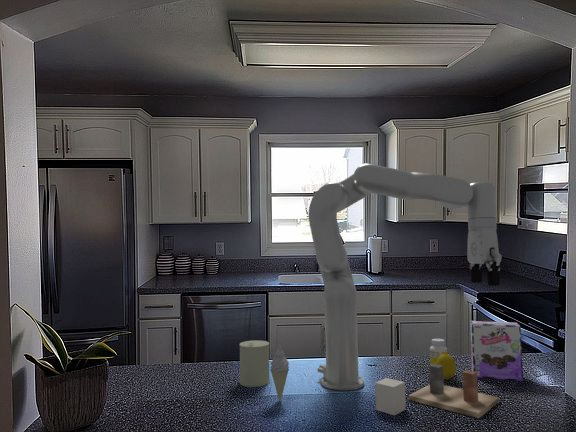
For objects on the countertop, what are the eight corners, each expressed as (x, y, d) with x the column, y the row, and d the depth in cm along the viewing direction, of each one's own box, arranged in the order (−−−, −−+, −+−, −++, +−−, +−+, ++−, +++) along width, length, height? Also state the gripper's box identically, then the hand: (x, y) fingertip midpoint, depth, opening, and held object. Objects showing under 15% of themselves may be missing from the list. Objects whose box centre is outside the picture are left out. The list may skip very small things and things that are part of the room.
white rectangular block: (376, 409, 107) (375, 382, 107) (387, 404, 110) (386, 377, 111) (394, 415, 103) (393, 387, 103) (405, 409, 107) (404, 382, 107)
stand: (408, 400, 113) (407, 368, 114) (433, 387, 123) (432, 357, 124) (478, 418, 100) (477, 382, 101) (499, 402, 110) (497, 369, 111)
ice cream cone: (273, 405, 111) (272, 345, 112) (268, 398, 116) (267, 341, 117) (291, 402, 112) (290, 344, 113) (286, 396, 117) (285, 340, 118)
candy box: (473, 377, 131) (470, 323, 132) (471, 372, 137) (469, 320, 138) (524, 381, 127) (520, 325, 128) (520, 376, 132) (517, 321, 133)
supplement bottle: (446, 368, 142) (445, 338, 142) (450, 373, 136) (448, 341, 137) (429, 368, 142) (428, 337, 143) (432, 372, 137) (431, 341, 138)
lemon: (458, 383, 126) (457, 355, 127) (438, 382, 127) (437, 354, 128) (454, 377, 132) (453, 351, 132) (435, 376, 133) (434, 350, 133)
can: (234, 385, 127) (234, 344, 128) (246, 376, 136) (246, 338, 137) (263, 388, 124) (263, 346, 125) (274, 378, 133) (273, 339, 134)
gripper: (456, 226, 134) (458, 281, 132) (484, 223, 116) (487, 286, 115) (480, 226, 134) (482, 281, 133) (511, 222, 117) (514, 286, 116)
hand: (484, 283), depth 124 cm, fingers open, 9 cm apart
